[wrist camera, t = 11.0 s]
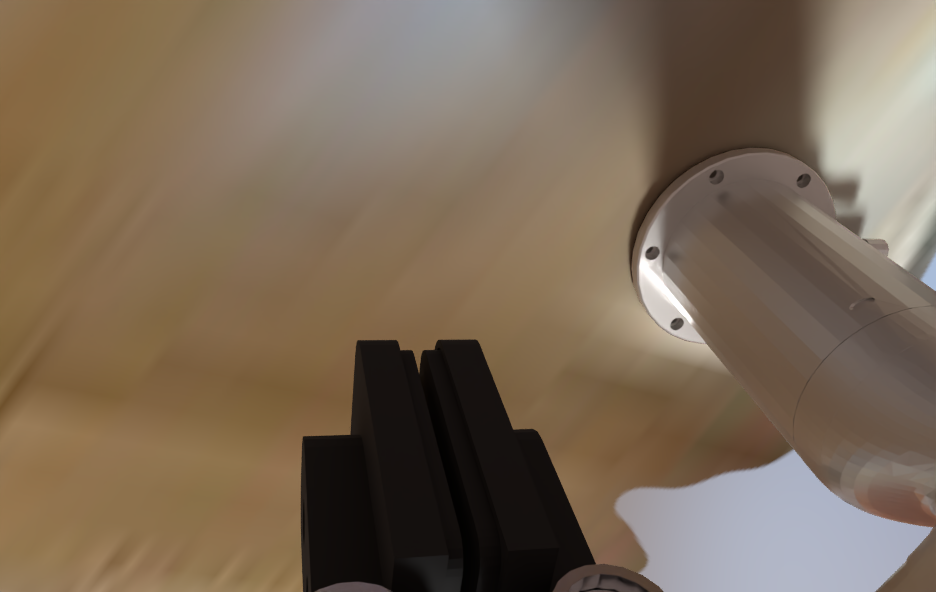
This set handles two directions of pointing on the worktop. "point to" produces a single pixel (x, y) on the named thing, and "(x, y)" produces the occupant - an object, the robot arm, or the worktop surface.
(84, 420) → the worktop surface
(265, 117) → the worktop surface
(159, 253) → the worktop surface
